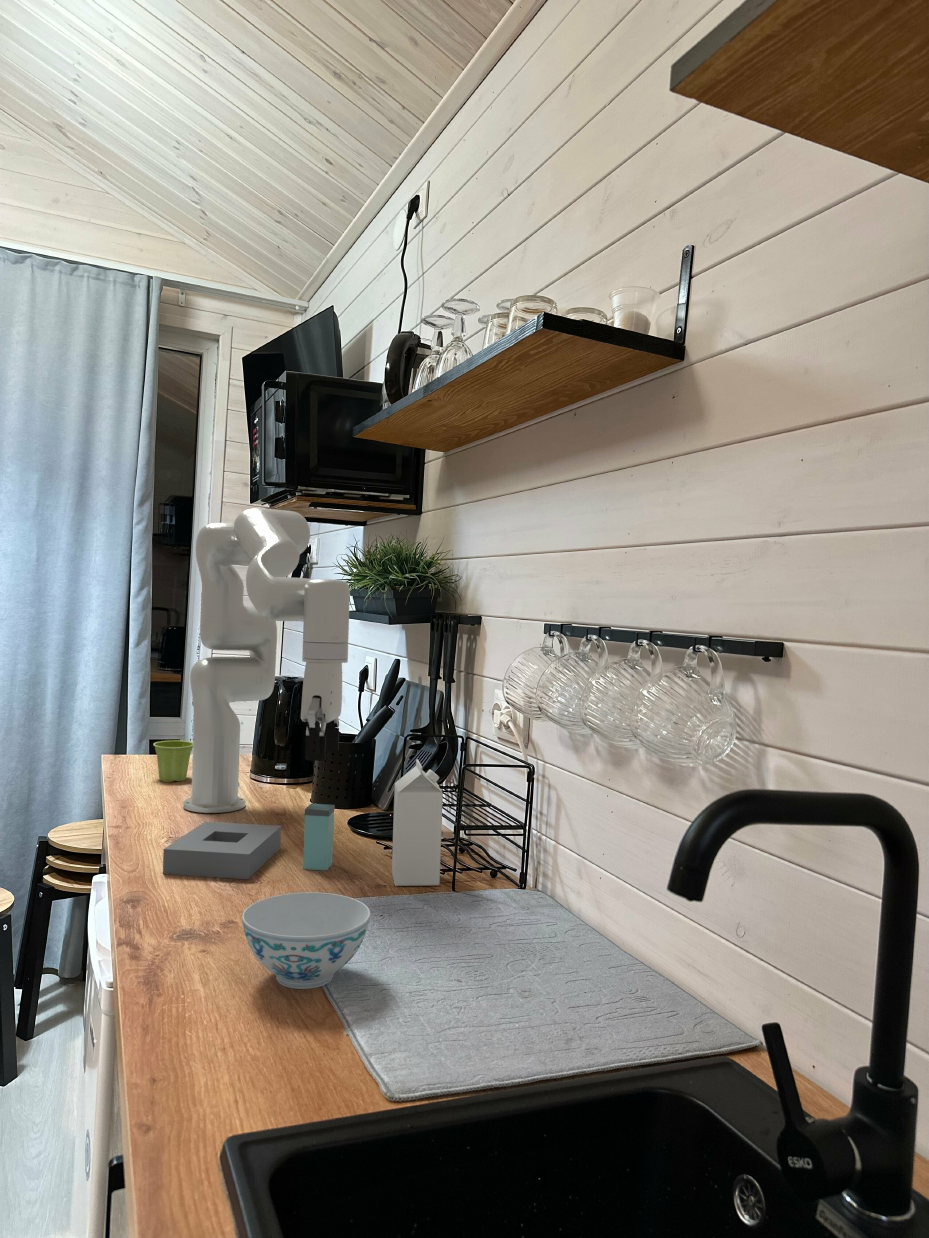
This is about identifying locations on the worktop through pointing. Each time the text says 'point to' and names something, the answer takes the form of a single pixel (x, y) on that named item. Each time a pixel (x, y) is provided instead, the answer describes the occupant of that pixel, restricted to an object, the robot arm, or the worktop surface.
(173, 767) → the plant pot
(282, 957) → the chinaware
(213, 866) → the socket block
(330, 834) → the peg
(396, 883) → the milk carton
